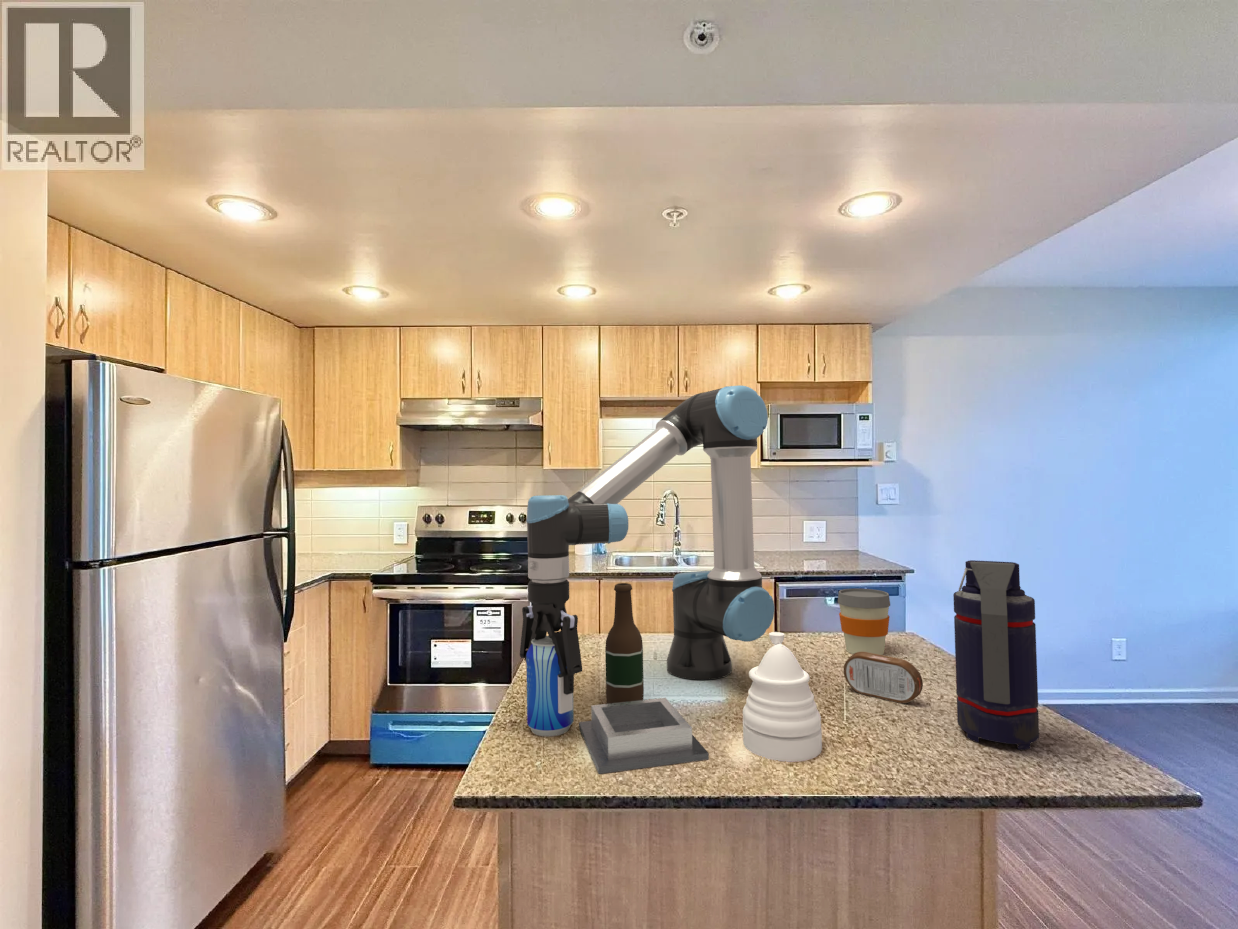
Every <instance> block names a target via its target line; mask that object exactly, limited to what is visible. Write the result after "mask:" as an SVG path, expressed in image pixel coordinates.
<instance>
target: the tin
mask: <svg viewBox="0 0 1238 929" xmlns="http://www.w3.org/2000/svg"><path fill="white" fill-rule="evenodd" d="M843 676H844V679H845V682H846V683H847V684H848V685H849V687H850V688H851V689H852V690H853V691H855V692H857V693H858V694H861V695H864V696H868V697H872V698H876V699H882V700H886V701H890V702H893V703H897V704H907V703H910V702H912V701H914V700H916V698H918V697H919V696H920V695H921V693H922V691H923V688H924V687H923V686H924V685H923V684H924V681H923V677H922V675H921V673H920V672H919V670H918V668H917V667H916V666H914V664H912V663H911V662H910V661H908V660H905V659H903V658H898V657H894V656H887V655H884V654H883V655H878V654H873V653H868V652H857V653H854V654H852V655H851V656H849V657H848V659H847V660H845V663H844V664H843Z"/></svg>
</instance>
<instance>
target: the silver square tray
mask: <svg viewBox="0 0 1238 929" xmlns="http://www.w3.org/2000/svg"><path fill="white" fill-rule="evenodd" d="M590 710H591V711H590V712H591V714H590V715H591V716H590V718H591V720H586V721H585V720H584V721H579V722H578V730H579V732H580V734H581V737H582V739H583V740H584V743H585V745H586V747H587V750H588V752H589V755H590V757H591V759H592V761H593V764H594V767H595V769H596V771H597V774H598V775H601V774H610V773H614V772H615V773H616V772H617V773H618V772H624V771H632V770H640V769H646V768H647V769H648V768H655V767H661V766H671V765H677V764H684V763H690V762H692V763H693V762H699V761H706V760H709V756H710V755H709V754H710V753H709V752H708V751H707V749H705V747H704V746H703V744H701V743H700V741H699V740H698V739H697V738H696V737H695V736H694V734H693V727H692V726H691V725H690V724H689V722H687V720H686V719H685V718H684V717H683V716H682V714H681V713H680V712H679V711H678V710H677V709H676V708H675V707H674V706H673V704H672V703H671V702H670V701H669V700H668V699H667V697H661V698H660V697H659V698H651V699H643V700H639V701H629V702H620V703H610V704H607V703H604V704H594V705H593V704H591V705H590Z"/></svg>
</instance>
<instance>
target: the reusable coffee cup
mask: <svg viewBox="0 0 1238 929" xmlns="http://www.w3.org/2000/svg"><path fill="white" fill-rule="evenodd" d="M837 595H838V596H837V604H839V606H838V607H839V611H840V612H839V613H838V615H839V623H840V627H841V628H840V629H841V631H842V633H843V637H844V644H845V650H846V652H848V653H849V654H852V655H853V654H854V653H857V652H868V653H873V654H878V655H883V656H884V654H885V647H886V646H885V644H886V638H887V636H888V635H889V626H890V625H889V624H890V615H889V611H890V610H889V609H890V607H891V599H890V595H889V593H888V592H887V591H883V590H880V589H872V588H845V589H840V590H839V591H838V594H837Z"/></svg>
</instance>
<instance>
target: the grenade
mask: <svg viewBox="0 0 1238 929" xmlns="http://www.w3.org/2000/svg"><path fill="white" fill-rule="evenodd" d="M964 564H965V567H964V572H963V575H962V578H961V581H960V584H959V586H958V591H955V592H953V596H952V597H953V612H954V613H955V615H954V616H953V618H954V622H953V624H954V654H955V656H954V659H955V682H956V683H955V685H956V686H955V688H956V696H957V698H956V717H957V725H958V726H959V727H960V729H962V730H963V731H964V732H965V733H966V738H967V739H969V740H971V741H973V742H975V743H980V739H981V740H986V741H991V742H995V743H1001V744H1007V745H1008V744H1009V745H1017V750H1018V751H1026V750H1029V749H1031V744H1033V743H1035V742H1037V741H1038V740H1039V738H1040V723H1039V722H1040V721H1039V720H1040V719H1039V716H1040V715H1039V710H1038V708H1039V690H1038V686H1039V685H1038V660H1037V657H1038V656H1037V629H1036V628H1037V627H1036V626H1037V625H1036V622H1034V620H1035V619H1036V601H1035V600H1036V599H1034V597H1032V596H1029V595H1026V592H1025V590H1023V589H1022V587H1021V585H1020V584H1021V583H1020V582H1021V581H1020V579H1021V578H1020V564H1019V563H1017V562H1013V561H997V560H995V561H993V560H971V559H970V560H967V561H965V563H964ZM964 581H965V584H964Z"/></svg>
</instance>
